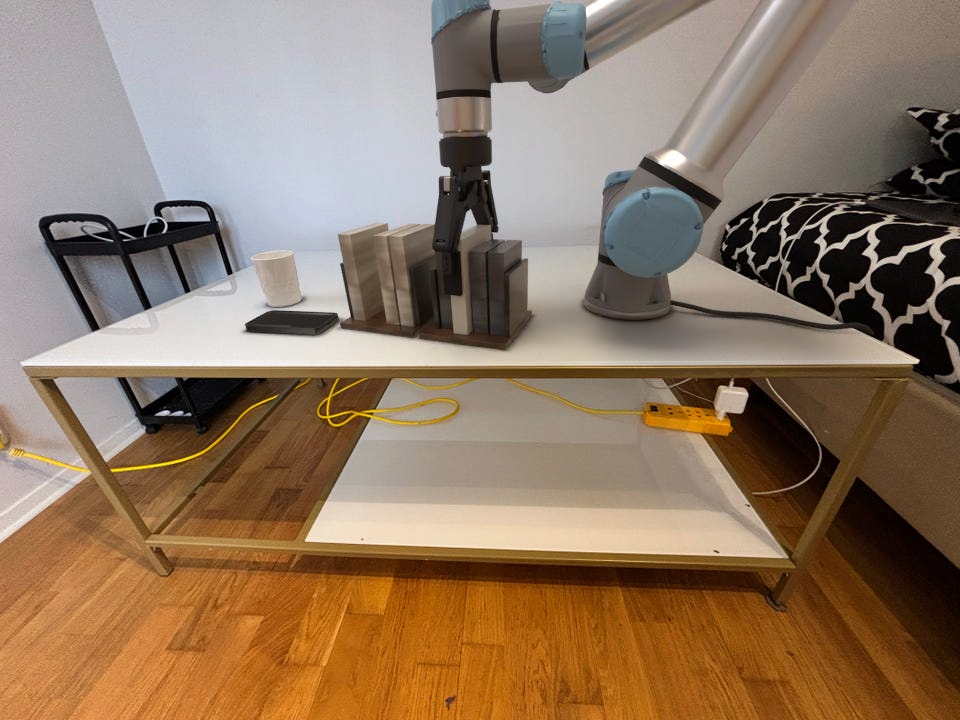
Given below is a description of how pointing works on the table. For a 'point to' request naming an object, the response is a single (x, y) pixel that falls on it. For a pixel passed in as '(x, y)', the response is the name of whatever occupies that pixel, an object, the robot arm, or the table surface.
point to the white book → (467, 278)
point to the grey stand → (485, 297)
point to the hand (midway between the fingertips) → (471, 282)
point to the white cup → (278, 277)
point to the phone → (292, 322)
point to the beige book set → (388, 278)
